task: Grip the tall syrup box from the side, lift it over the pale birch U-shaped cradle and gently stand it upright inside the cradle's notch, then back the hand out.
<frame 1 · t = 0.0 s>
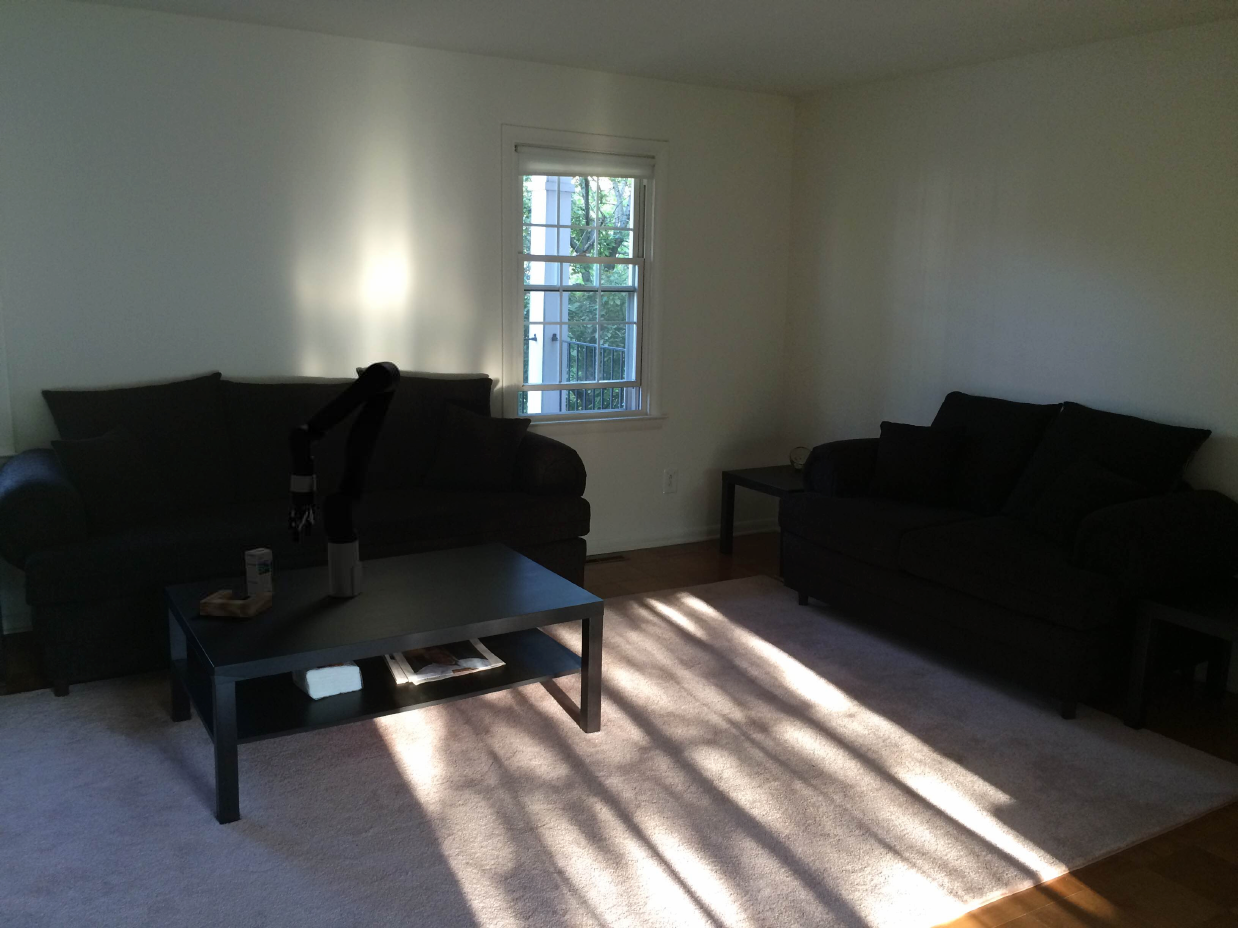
hand: (302, 538, 309), 17 cm above the table, tool pointing down, fingers open, 8 cm apart
syrup box: (261, 596, 307), on the table
cradle: (239, 608, 295), on the table
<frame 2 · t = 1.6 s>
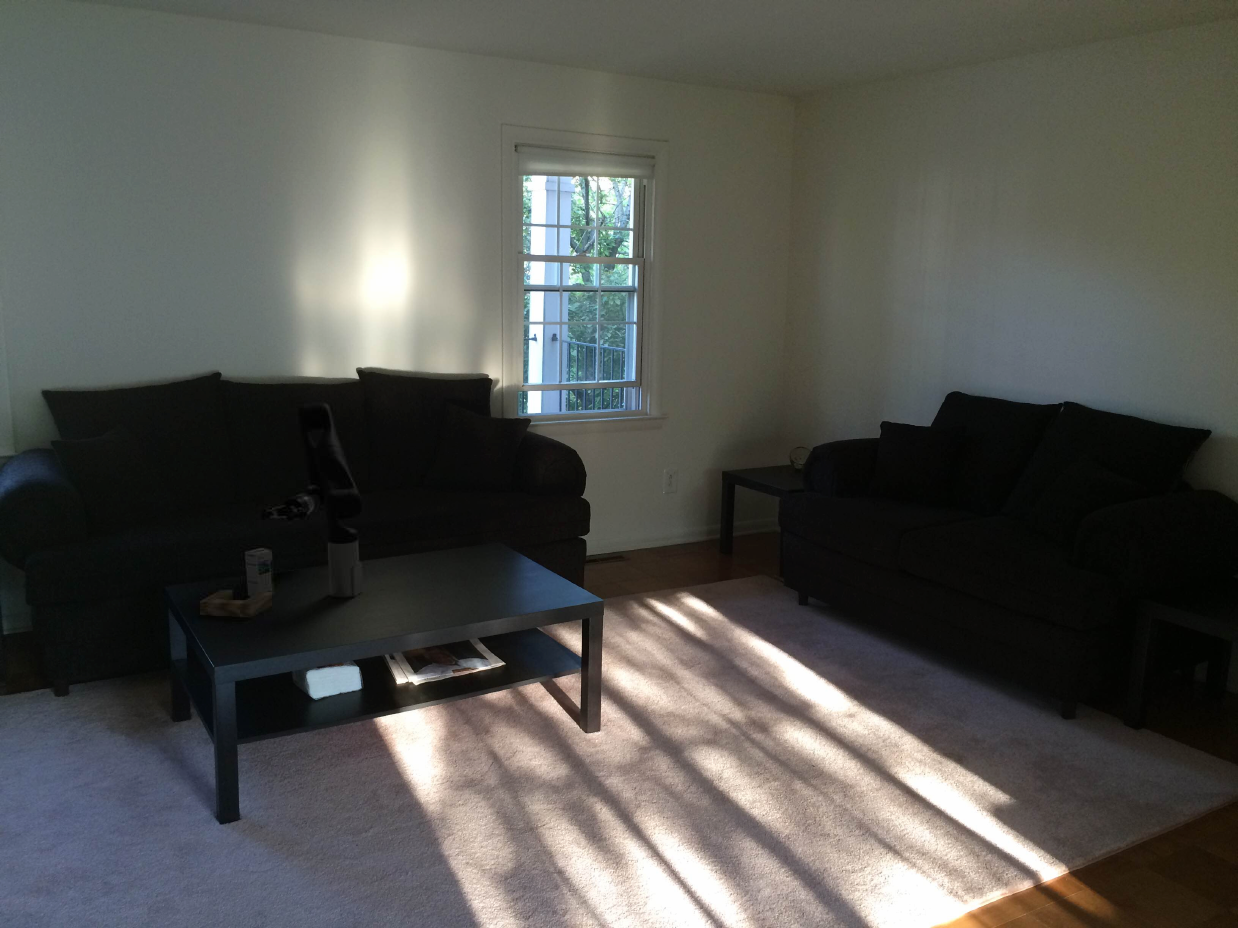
hand: (275, 517, 315), 22 cm above the table, tool horizontal, fingers open, 8 cm apart
nothing on the table moved.
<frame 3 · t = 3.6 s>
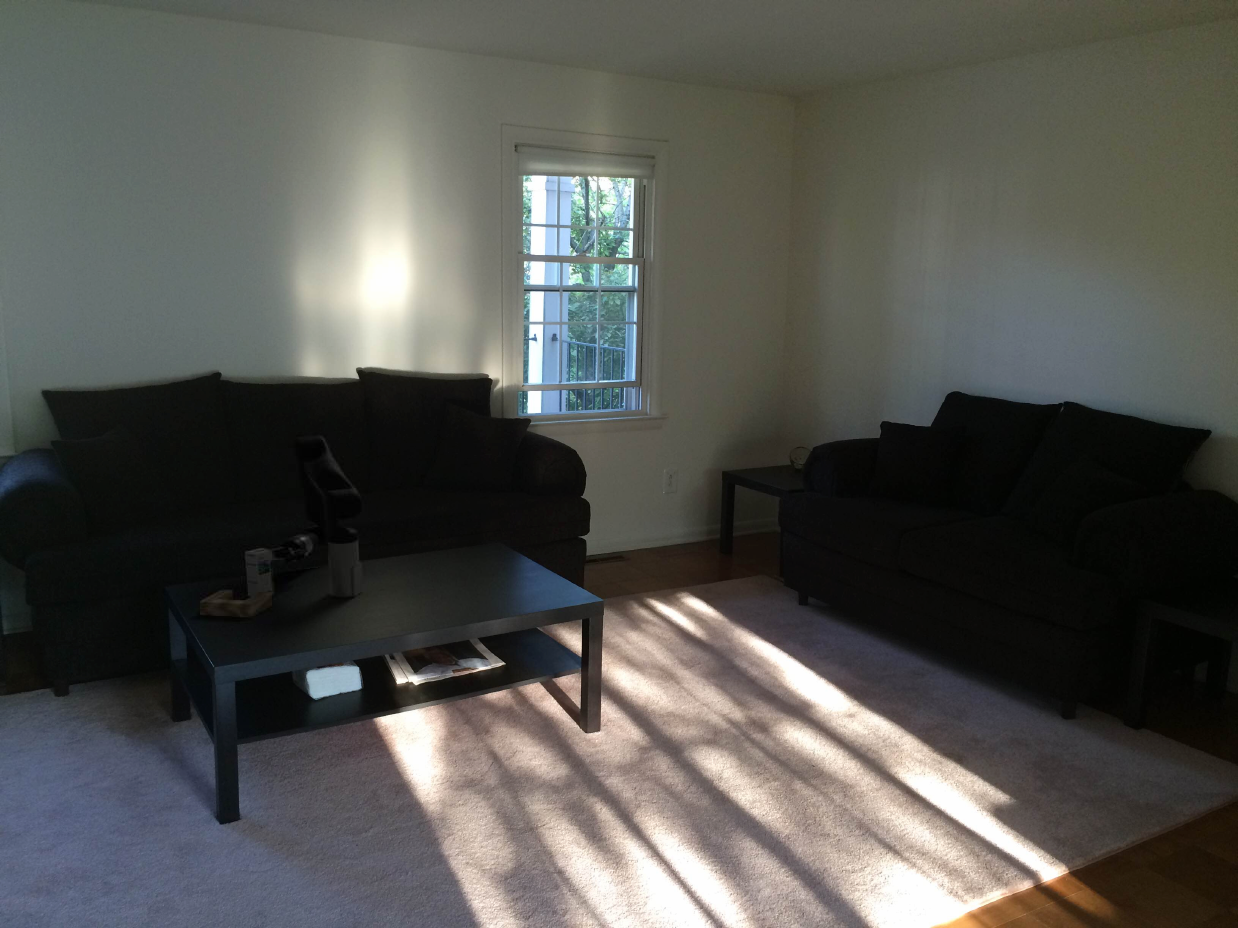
hand: (273, 560, 314), 9 cm above the table, tool horizontal, fingers open, 8 cm apart
nothing on the table moved.
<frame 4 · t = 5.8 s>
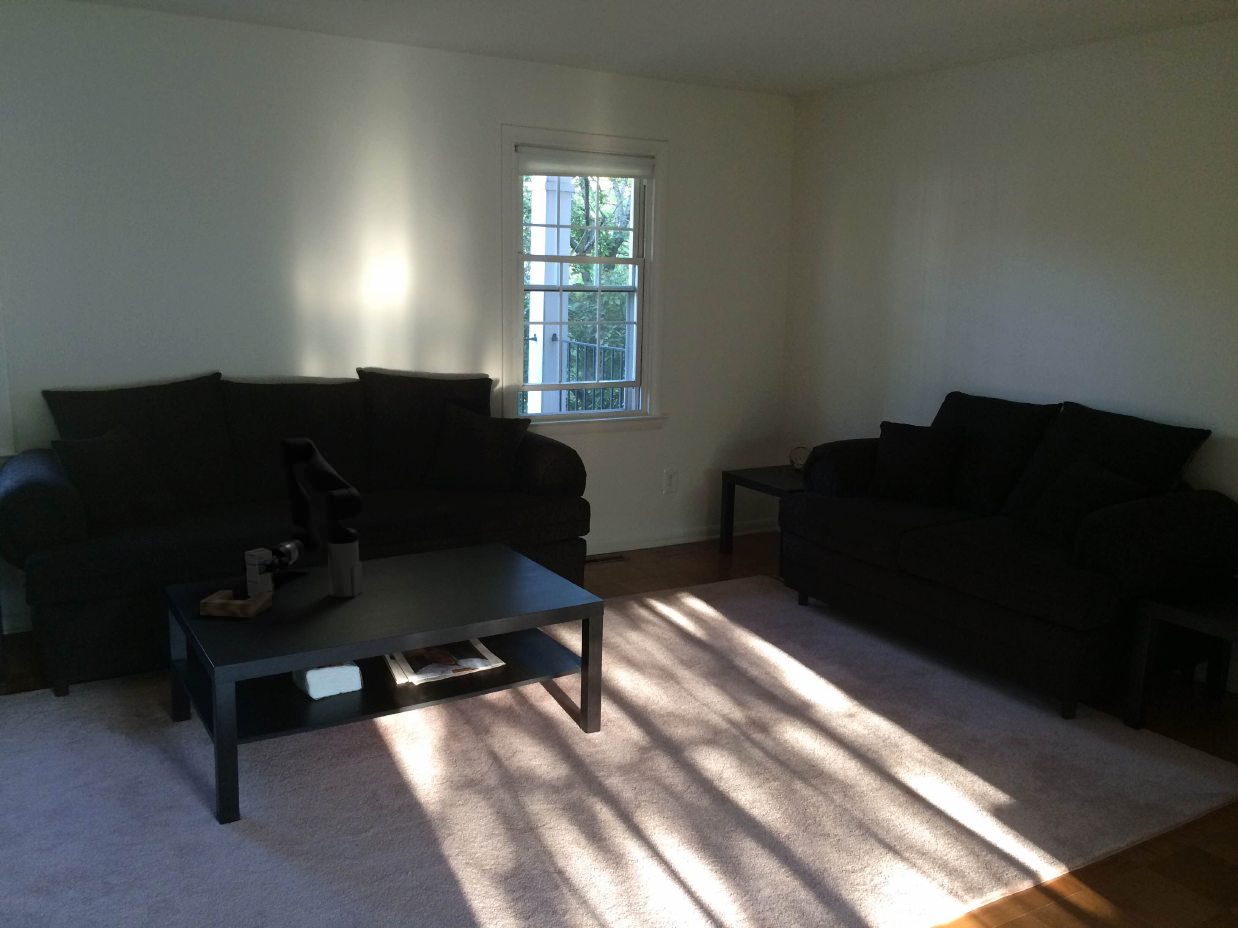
hand: (256, 569, 304), 9 cm above the table, tool horizontal, fingers closed on syrup box, 7 cm apart
syrup box: (261, 596, 307), on the table, touching gripper
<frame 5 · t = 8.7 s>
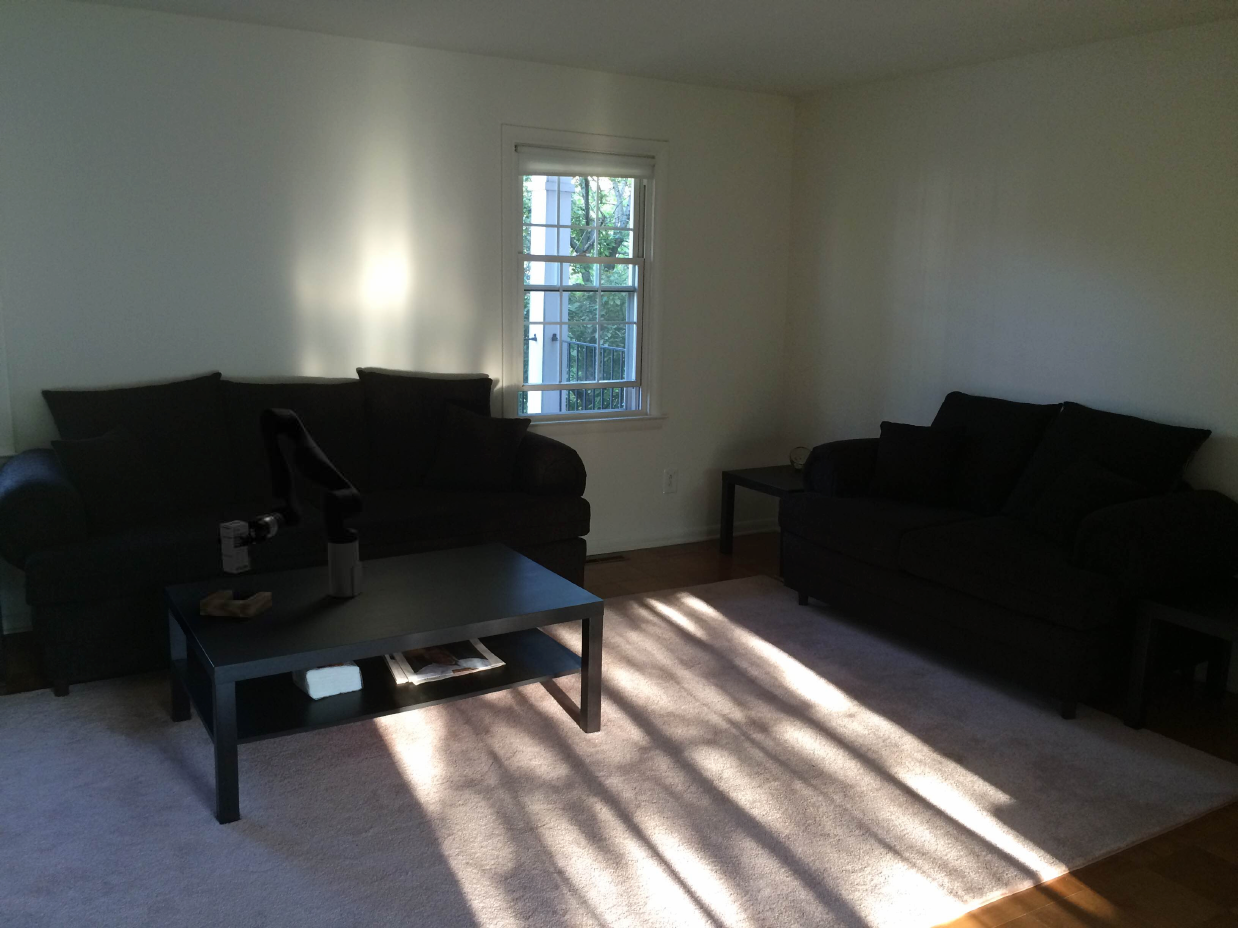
hand: (231, 542, 290), 21 cm above the table, tool horizontal, fingers closed on syrup box, 7 cm apart
syrup box: (237, 570, 293), point 11 cm above the table, touching gripper
when the fingers open (10 cm above the table, at t = 11.9 s): syrup box drops 1 cm, on the table.
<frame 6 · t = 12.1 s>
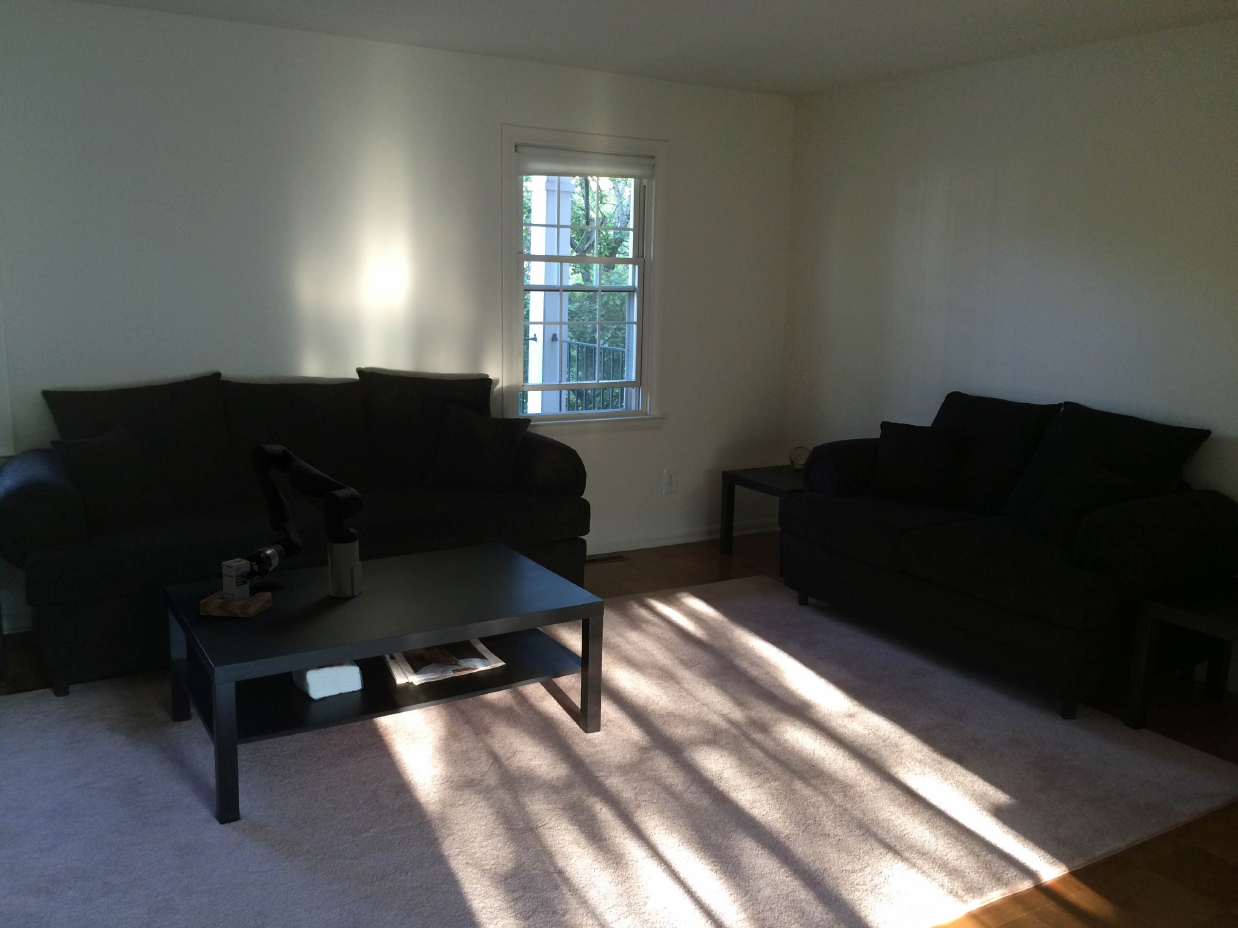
hand: (233, 576, 291), 10 cm above the table, tool horizontal, fingers open, 8 cm apart
syrup box: (238, 608, 295), on the table, touching gripper
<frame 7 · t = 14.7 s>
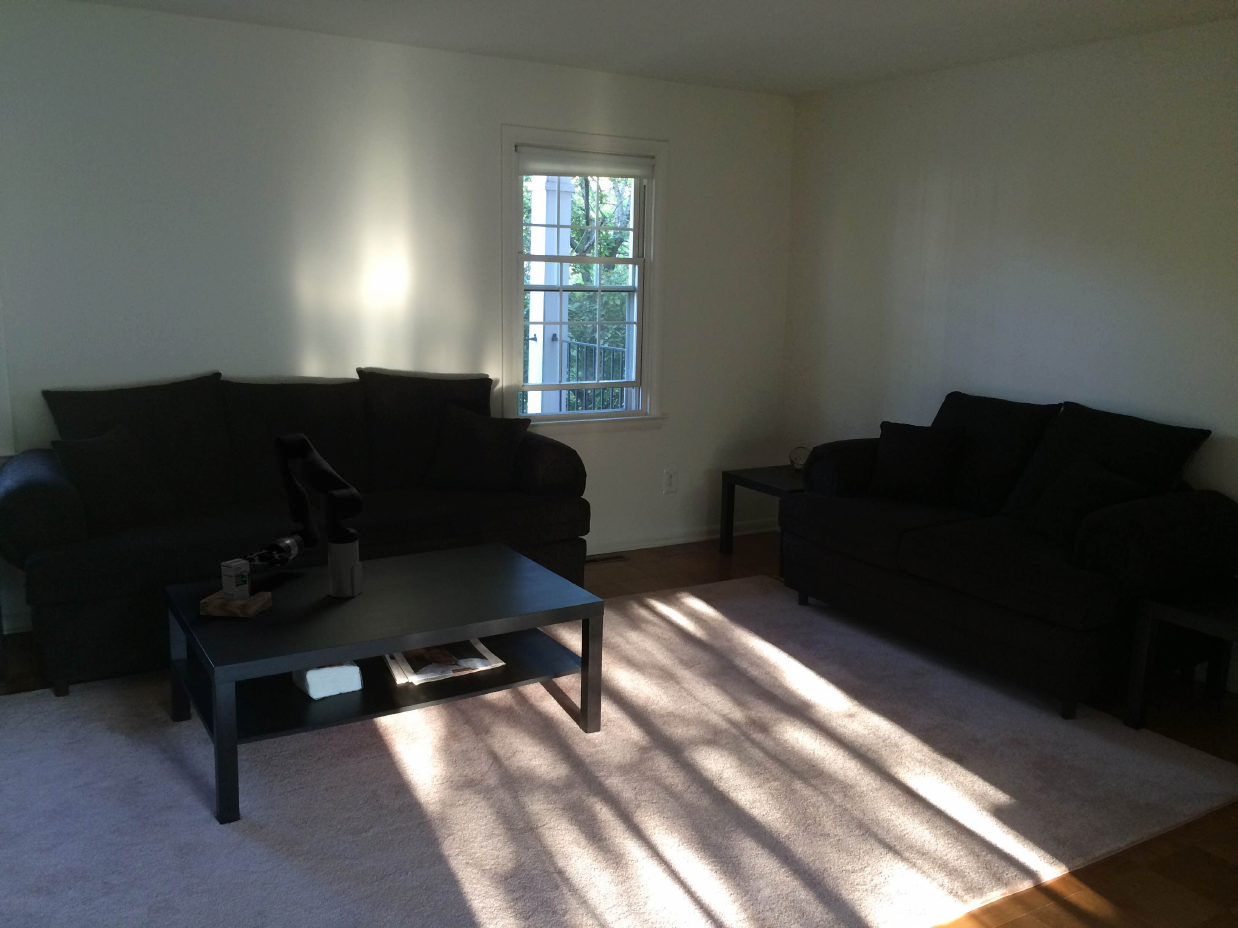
hand: (256, 564, 304), 11 cm above the table, tool horizontal, fingers open, 8 cm apart
syrup box: (238, 608, 295), on the table
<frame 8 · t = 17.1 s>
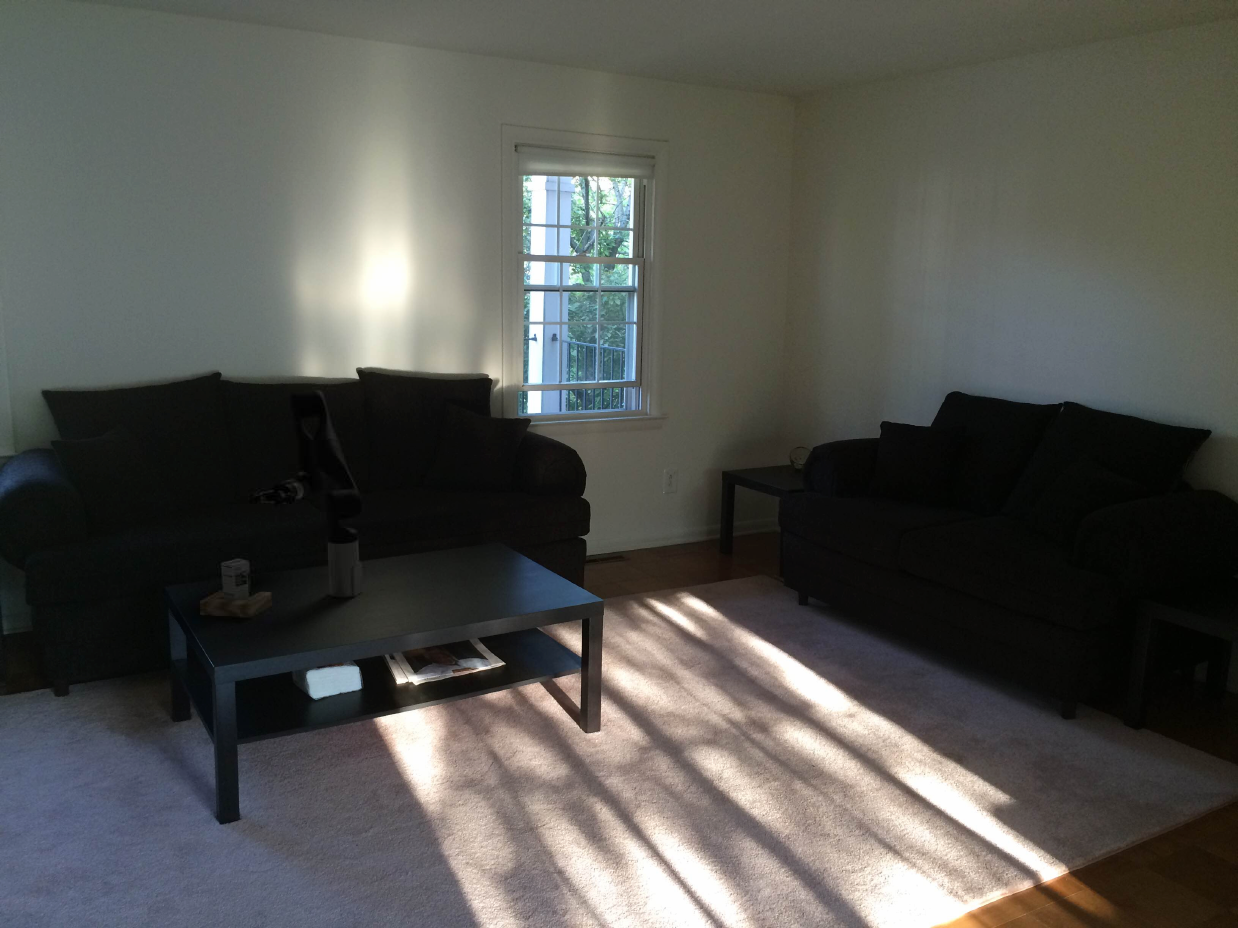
hand: (263, 502, 311), 28 cm above the table, tool horizontal, fingers open, 8 cm apart
nothing on the table moved.
at the end: syrup box 0.5 cm off-centre on the cradle, point 0.0 cm above the cradle's base; syrup box tilted 0°; the gripper is holding nothing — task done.
